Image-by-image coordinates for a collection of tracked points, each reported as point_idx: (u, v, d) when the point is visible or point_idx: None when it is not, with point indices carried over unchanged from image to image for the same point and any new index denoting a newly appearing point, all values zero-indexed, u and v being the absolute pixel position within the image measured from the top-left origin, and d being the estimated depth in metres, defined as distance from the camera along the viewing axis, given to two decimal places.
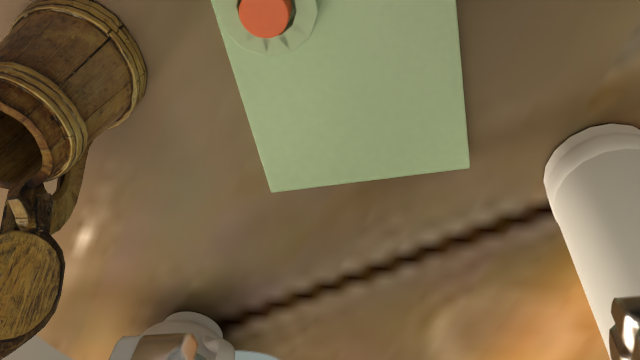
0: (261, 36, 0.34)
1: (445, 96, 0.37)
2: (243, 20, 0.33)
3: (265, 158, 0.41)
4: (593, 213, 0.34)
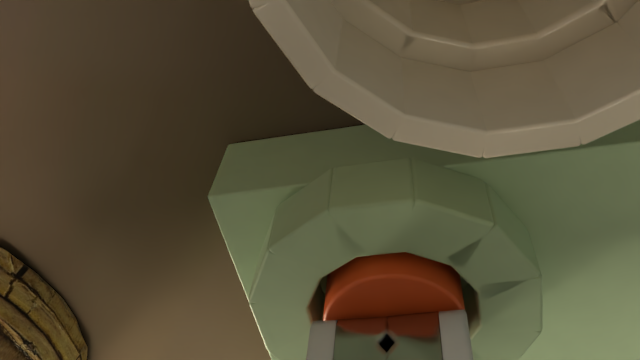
0: None
1: None
2: None
3: None
4: None
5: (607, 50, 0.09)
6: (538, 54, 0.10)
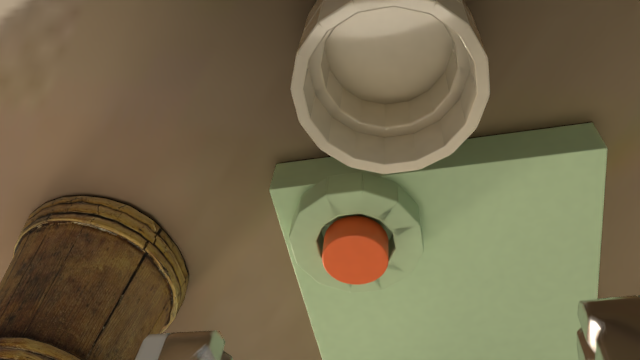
0: (349, 282, 0.26)
1: (571, 328, 0.29)
2: (327, 266, 0.25)
3: None
4: None
5: (433, 132, 0.23)
6: (411, 131, 0.23)
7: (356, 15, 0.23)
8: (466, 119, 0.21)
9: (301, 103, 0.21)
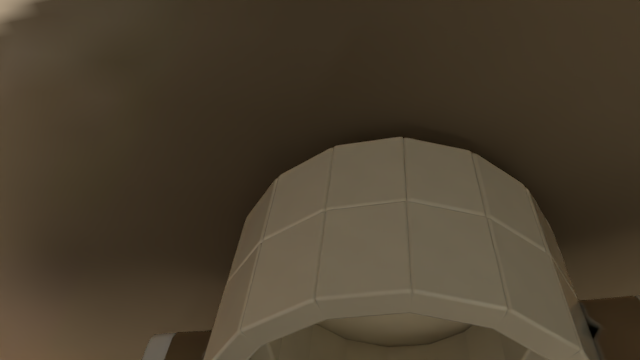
0: None
1: None
2: None
3: None
4: None
5: None
6: None
7: None
8: None
9: None
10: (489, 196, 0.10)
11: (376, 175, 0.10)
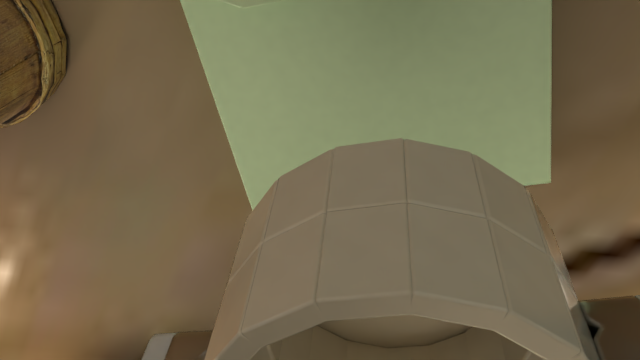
0: None
1: (522, 74, 0.24)
2: None
3: (245, 168, 0.28)
4: None
5: None
6: None
7: None
8: None
9: None
10: (489, 197, 0.10)
11: (376, 176, 0.10)
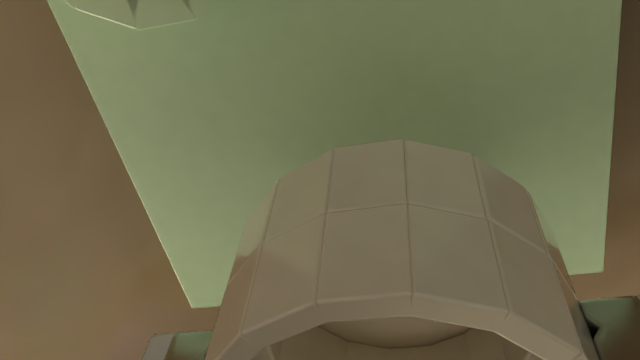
0: None
1: (569, 125, 0.16)
2: None
3: (173, 247, 0.20)
4: None
5: None
6: None
7: None
8: None
9: None
10: (490, 198, 0.10)
11: (377, 177, 0.10)
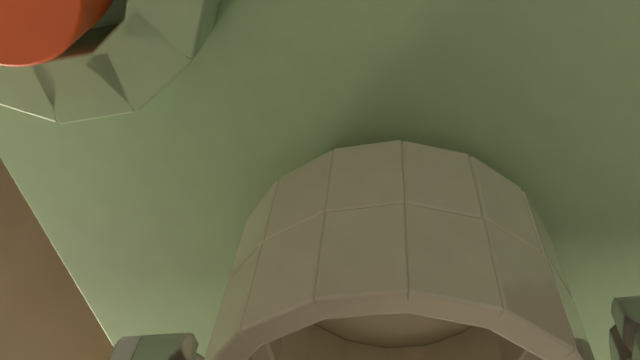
0: None
1: (619, 231, 0.13)
2: None
3: None
4: None
5: None
6: None
7: None
8: None
9: None
10: (486, 199, 0.10)
11: (375, 177, 0.10)
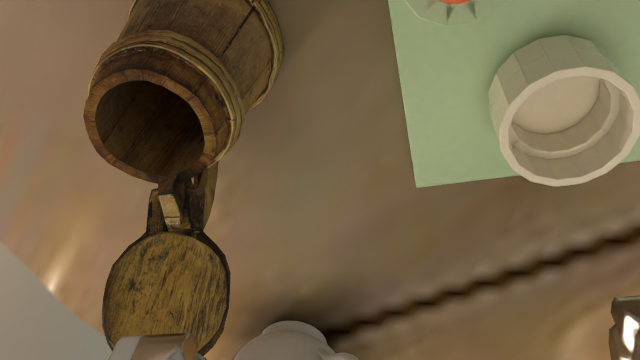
0: (451, 1, 0.28)
1: None
2: None
3: (416, 148, 0.36)
4: None
5: (588, 156, 0.32)
6: (569, 155, 0.32)
7: None
8: (621, 148, 0.30)
9: (505, 137, 0.30)
10: (599, 51, 0.30)
11: (560, 44, 0.30)
